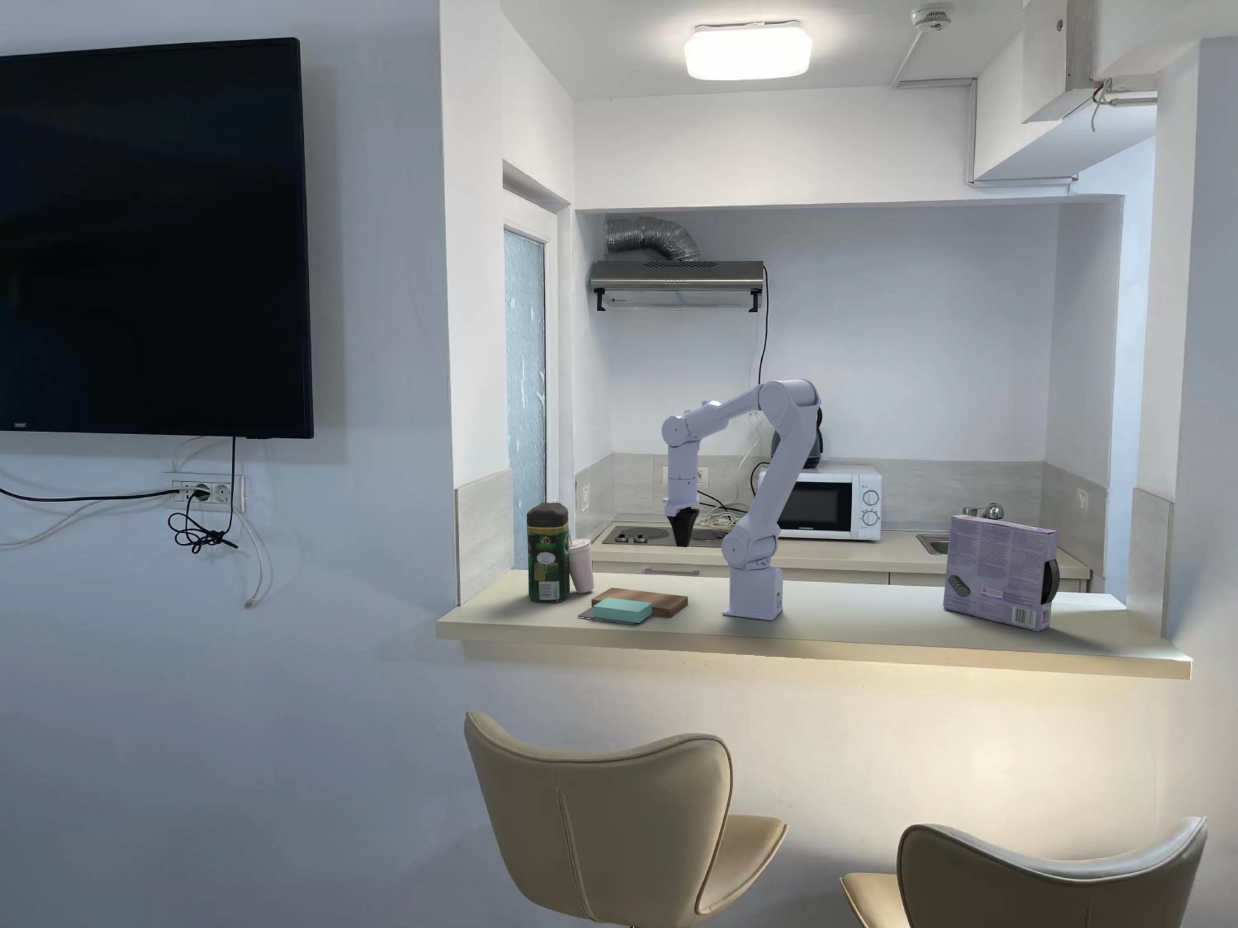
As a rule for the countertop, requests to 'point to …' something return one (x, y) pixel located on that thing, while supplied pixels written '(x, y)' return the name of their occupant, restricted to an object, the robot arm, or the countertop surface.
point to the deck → (647, 600)
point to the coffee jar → (548, 553)
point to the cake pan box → (1001, 571)
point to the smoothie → (580, 564)
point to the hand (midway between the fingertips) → (682, 546)
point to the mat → (589, 614)
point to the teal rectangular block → (622, 610)
